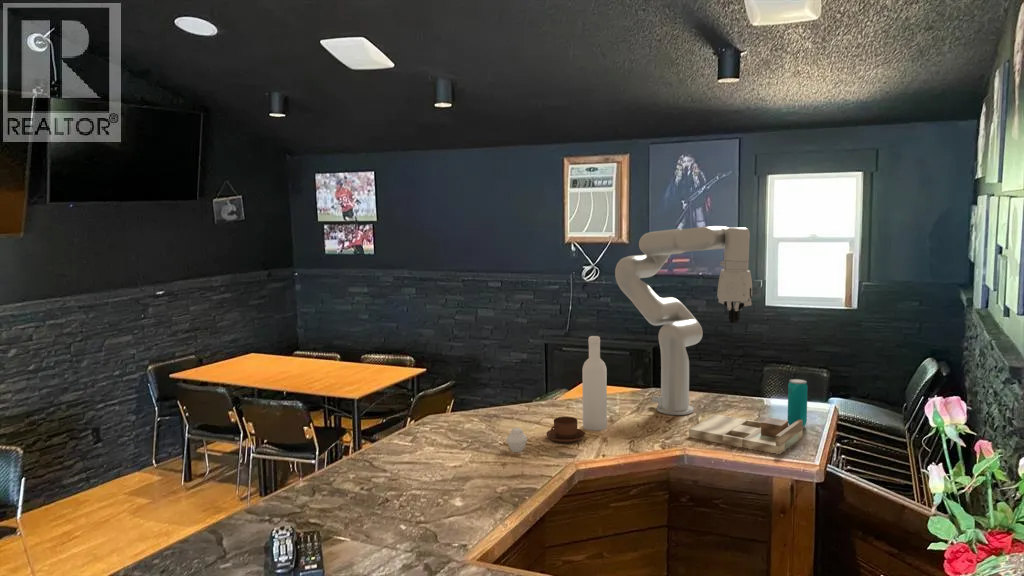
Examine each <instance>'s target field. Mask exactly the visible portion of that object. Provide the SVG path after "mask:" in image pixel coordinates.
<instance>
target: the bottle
mask: <svg viewBox="0 0 1024 576" xmlns="http://www.w3.org/2000/svg"><path fill="white" fill-rule="evenodd" d="M587 341H588V342H587V343H588V359H586V360H585V361H584V363H583V365H582V374H581V375H582V428H583V429H584V430H586V431H594V432H599V431H604V430H606V429H607V427H608V415H607V414H608V413H607V412H608V410H607V409H608V398H607V397H608V395H607V394H608V392H607V391H608V390H607V386H608V385H607V383H608V382H607V375H608V373H607V370H608V369H607V365H606V363H605V362H604V360H603V359H602V358H601V337H600V336H599V335H590V336H589V337H588V340H587Z"/></svg>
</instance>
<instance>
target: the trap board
mask: <svg viewBox="0 0 1024 576" xmlns="http://www.w3.org/2000/svg"><path fill="white" fill-rule="evenodd" d="M761 422H762V421H756V420H751V419H747V418H740V417H733V416H729V415H722V414H716V413H715V414H714V415H711V416H710V417H708V418H706V419H704V420H703V421H701V422H700V423H697V424H695V425H693V426H691V427H690V428H688V438H693V439H696V440H702V441H707V442H712V443H717V444H722V445H728V446H731V447H732V446H733V447H737V448H742V447H743V448H742V449H747V448H748V450H752V449H754V450H753V451H757V450H759V452H762V451H764V452H763V453H767V452H771V453H770V454H772V453H776V454H775V455H778V454H780V455H781V453H782V452H783V451H784V452H786V451H787V450H788V449H789V448H791V447H793V445H794V444H796V443H797V442H798V441H800V440H801V439H802V438H803V429H804V428H803V420H800V419H798V420H797V421H796V422H794V423H793V424H791V425H790V426H789V425H788V427H787V428H786V429H784V430H783V431H782V432H780V433H779V434H777V435H776V438H773V437H768V436H762V435H761ZM790 446H791V447H790ZM787 448H788V449H787ZM786 449H787V450H786ZM784 452H783V453H784ZM783 453H782V454H783Z"/></svg>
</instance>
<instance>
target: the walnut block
mask: <svg viewBox="0 0 1024 576" xmlns="http://www.w3.org/2000/svg"><path fill="white" fill-rule="evenodd" d="M760 422H761V435H762V436H768V437H773V438H776V435H777V434H779V433H780V432H782V431H783V430H784V429H786V428H787V427H789V423H788V420H785V419H779V418H778V419H777V418H772V417H767V418H765V419H764V420H762V421H760Z"/></svg>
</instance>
